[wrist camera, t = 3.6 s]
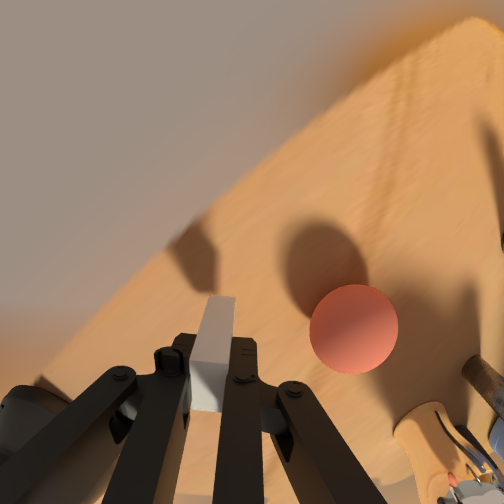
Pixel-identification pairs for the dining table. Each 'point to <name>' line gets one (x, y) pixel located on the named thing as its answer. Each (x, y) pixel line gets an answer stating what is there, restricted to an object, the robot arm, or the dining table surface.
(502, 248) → the post
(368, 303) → the ball
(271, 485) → the dining table surface
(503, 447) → the water jug
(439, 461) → the beer glass
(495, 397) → the post
